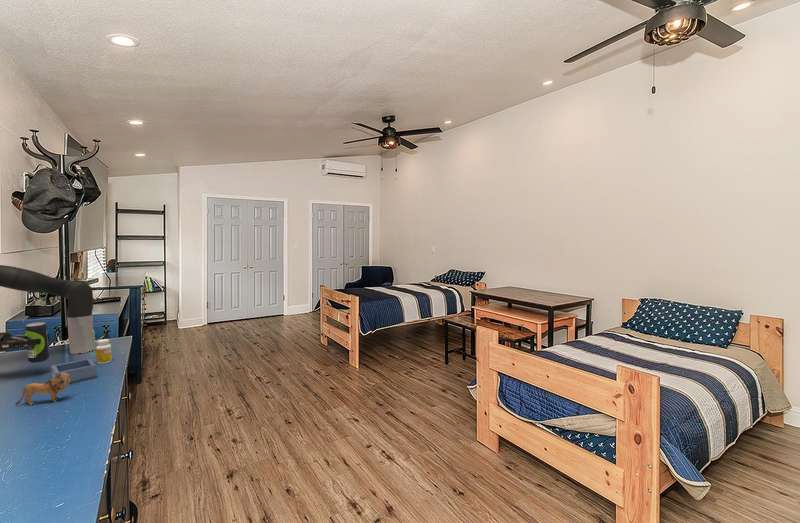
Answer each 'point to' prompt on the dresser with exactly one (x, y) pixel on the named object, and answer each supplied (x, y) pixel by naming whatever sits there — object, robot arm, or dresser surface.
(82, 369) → the slate blue open bin
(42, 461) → the dresser surface
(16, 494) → the dresser surface
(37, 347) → the beverage can
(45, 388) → the lion figurine
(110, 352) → the supplement bottle
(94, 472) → the dresser surface
